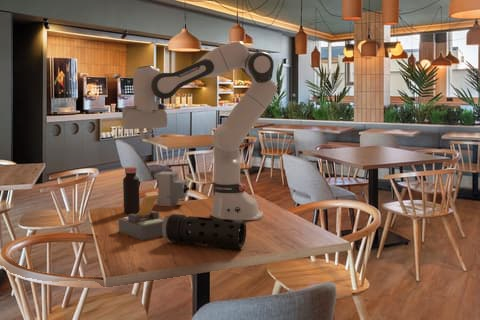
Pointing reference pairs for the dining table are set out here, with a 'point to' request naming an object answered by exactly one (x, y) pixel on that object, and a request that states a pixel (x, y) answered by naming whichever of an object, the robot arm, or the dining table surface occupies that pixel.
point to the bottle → (131, 191)
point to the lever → (147, 204)
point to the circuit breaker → (170, 188)
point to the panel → (141, 226)
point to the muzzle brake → (205, 231)
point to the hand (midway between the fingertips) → (145, 139)
